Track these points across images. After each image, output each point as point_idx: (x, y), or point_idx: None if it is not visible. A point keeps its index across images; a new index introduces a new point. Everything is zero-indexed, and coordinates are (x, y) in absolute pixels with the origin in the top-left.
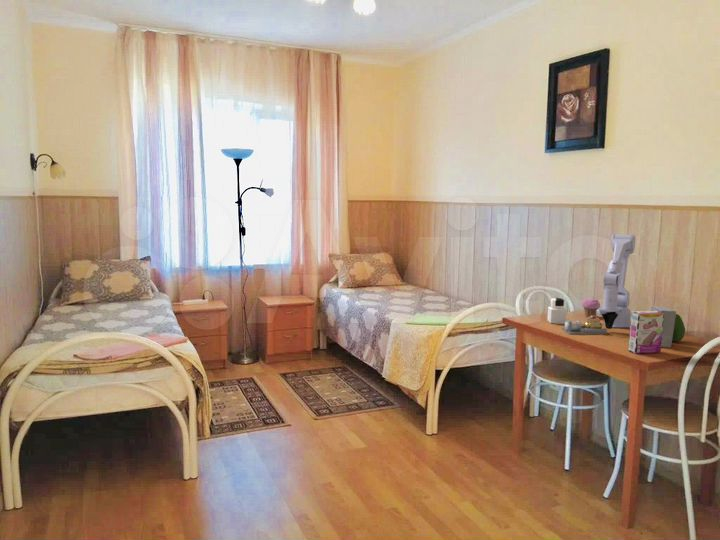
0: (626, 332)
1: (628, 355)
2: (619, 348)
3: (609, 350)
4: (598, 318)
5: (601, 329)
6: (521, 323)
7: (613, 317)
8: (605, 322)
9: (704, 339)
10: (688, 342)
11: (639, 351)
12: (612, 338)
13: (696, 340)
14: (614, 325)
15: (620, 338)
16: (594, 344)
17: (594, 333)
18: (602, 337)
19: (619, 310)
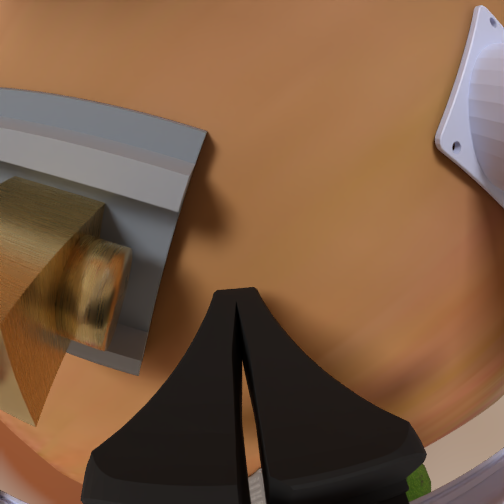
0: (379, 332)
1: (80, 481)
2: (80, 464)
3: (41, 455)
4: (20, 413)
5: (85, 357)
6: None
7: (264, 490)
8: (199, 347)
9: (469, 419)
10: None
11: None
12: (122, 413)
13: (444, 432)
14: (479, 151)
15: None
16: (4, 415)
17: None
18: (67, 382)
19: (498, 477)
